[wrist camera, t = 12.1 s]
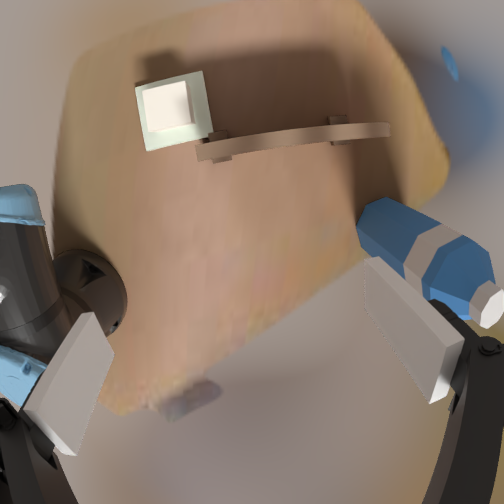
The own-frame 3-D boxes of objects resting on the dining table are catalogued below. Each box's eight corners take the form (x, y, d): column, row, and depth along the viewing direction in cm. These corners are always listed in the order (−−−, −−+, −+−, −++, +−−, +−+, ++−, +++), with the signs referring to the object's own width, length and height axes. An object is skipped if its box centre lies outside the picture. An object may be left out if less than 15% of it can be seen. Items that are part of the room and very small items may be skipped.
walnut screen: (207, 164, 38) (200, 173, 28) (202, 134, 37) (192, 133, 27) (352, 143, 39) (391, 147, 28) (349, 115, 37) (387, 111, 27)
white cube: (157, 132, 35) (148, 131, 31) (152, 95, 34) (141, 89, 29) (195, 124, 36) (191, 122, 31) (190, 86, 34) (184, 79, 29)
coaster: (148, 151, 37) (146, 151, 36) (136, 88, 34) (134, 87, 33) (214, 136, 37) (213, 135, 36) (202, 71, 34) (202, 70, 33)
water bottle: (358, 195, 41) (478, 264, 18) (410, 198, 42) (533, 260, 19) (352, 255, 45) (445, 360, 22) (402, 254, 46) (503, 341, 22)
